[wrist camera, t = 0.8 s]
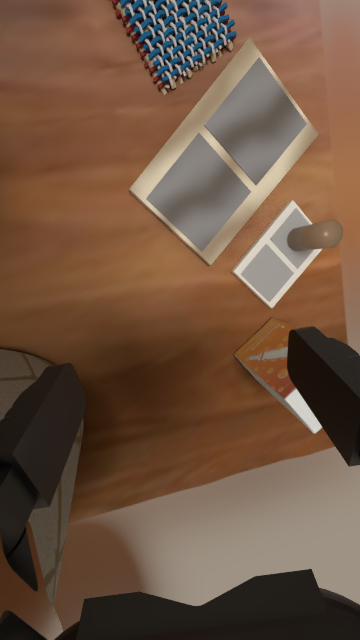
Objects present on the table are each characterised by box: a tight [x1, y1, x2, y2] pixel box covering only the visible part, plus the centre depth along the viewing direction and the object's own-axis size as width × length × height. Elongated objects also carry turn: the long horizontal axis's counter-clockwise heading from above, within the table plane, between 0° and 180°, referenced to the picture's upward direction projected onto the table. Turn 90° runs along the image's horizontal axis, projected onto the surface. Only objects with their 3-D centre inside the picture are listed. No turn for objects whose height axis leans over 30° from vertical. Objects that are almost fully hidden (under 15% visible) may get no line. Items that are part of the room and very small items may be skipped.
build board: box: [129, 38, 318, 265], centre depth 30 cm, size 13×21×1 cm, turn 139°
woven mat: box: [112, 0, 236, 95], centre depth 26 cm, size 10×11×2 cm
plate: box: [231, 200, 343, 308], centre depth 31 cm, size 8×12×7 cm, turn 139°
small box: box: [234, 318, 322, 434], centre depth 31 cm, size 8×6×13 cm
